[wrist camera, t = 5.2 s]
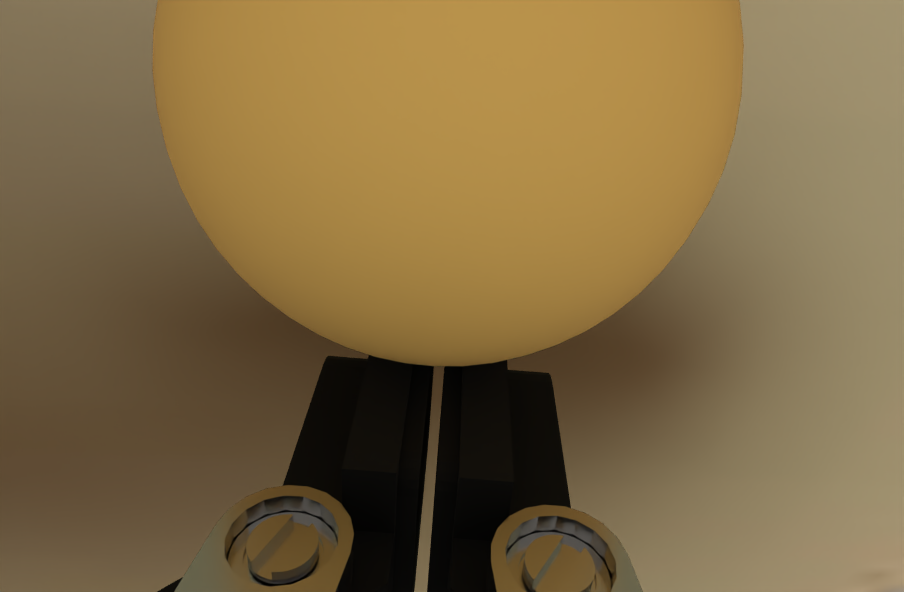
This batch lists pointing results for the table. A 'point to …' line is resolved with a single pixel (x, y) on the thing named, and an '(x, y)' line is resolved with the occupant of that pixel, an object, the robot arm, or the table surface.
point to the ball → (448, 157)
